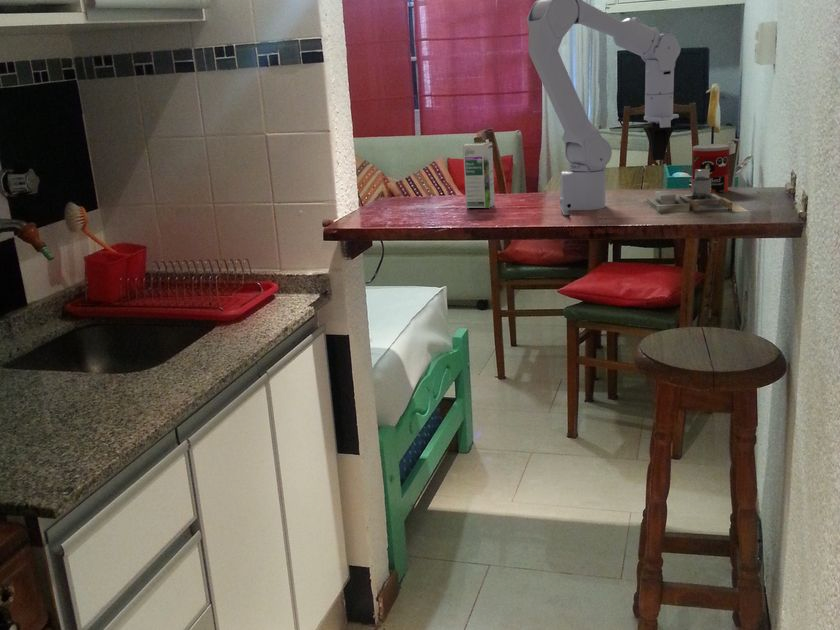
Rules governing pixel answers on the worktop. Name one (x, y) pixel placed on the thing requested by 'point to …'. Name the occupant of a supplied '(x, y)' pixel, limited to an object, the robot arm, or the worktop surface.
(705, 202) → the socket board
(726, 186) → the canned food
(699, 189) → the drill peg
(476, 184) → the syrup box
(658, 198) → the gray rectangular block
